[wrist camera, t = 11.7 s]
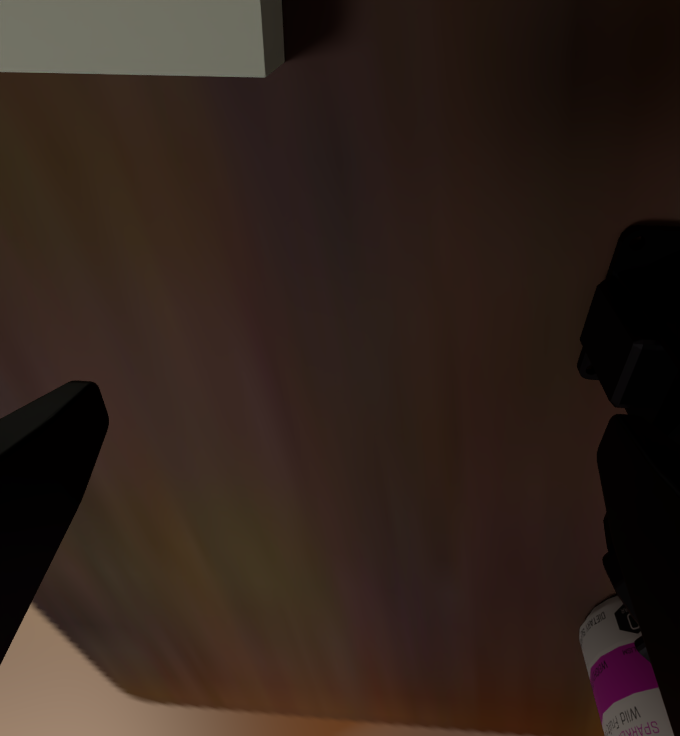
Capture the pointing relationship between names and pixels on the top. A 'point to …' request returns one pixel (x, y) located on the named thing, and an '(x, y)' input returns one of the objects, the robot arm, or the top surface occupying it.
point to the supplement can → (621, 674)
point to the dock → (142, 37)
